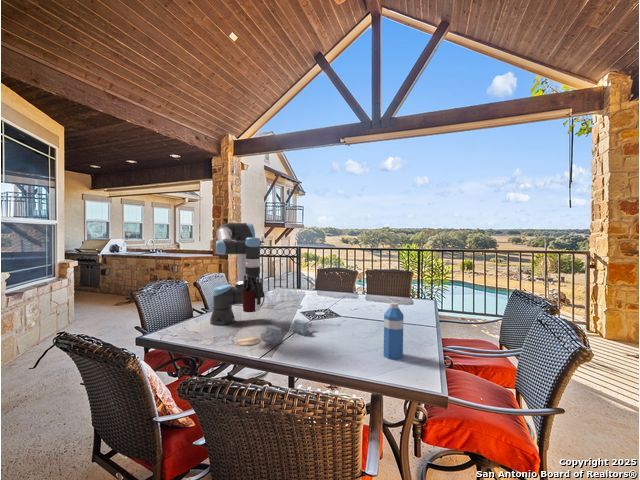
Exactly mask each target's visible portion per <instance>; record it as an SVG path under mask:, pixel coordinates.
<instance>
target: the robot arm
mask: <svg viewBox="0 0 640 480" xmlns="http://www.w3.org/2000/svg"><path fill="white" fill-rule="evenodd" d="M216 229H217V230H216V232H215V233H216V234H215V235H216V236H215V237H216V238H217V241H216V242H215V253H216V255H222V256H223V255H237V282H236V283H235V286H233V285H232V284H223V285H218V286H216V287H214V288H213V292H212V297H213V299H212V313H211V315H210V318H209V323H210V324H211V325H214V326H222V325H223V326H225V325H230V324H233V323H234V322H235V321H236V320H235V318H236V317H235V315H234V312H233V306H236V305H243V303H242V290H243V289H246V292H248V291H249V290H250V289H251V288H253V289H254V291H255V295H256V298H255V311H256V312H259V311H261V307H260V306H261V304H262V299H263V297H264V295H263V292H264V291H263V278H261V277H260V278H259V274H261V267H260V266H261V239H260V238H259V237H256V231H255V226H254V224H252V223H250V222H249V223H247V222H227V223H224V224H222V225H220V226H219V227H218V228H216Z"/></svg>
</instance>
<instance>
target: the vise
mask: <svg viewBox="0 0 640 480" xmlns="http://www.w3.org/2000/svg"><path fill="white" fill-rule="evenodd" d="M293 324H294V325H293V329H292V332H293V333H294V334H298V335H300V336H303V337H307V336H309V335H312V334H313V331H312V330H308V327H313V322H312V321H305V320H302V319H299V318H298V319H294V320H293ZM259 337H260V338H259V339H260V340H262V341H263V342H265V343H267V344H269V345H271V346H277V345H279V344H282V343H283V339H282V328H280V327H277V326H275V325H270V326H268V327H267V333H261V334H259Z"/></svg>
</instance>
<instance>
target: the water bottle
mask: <svg viewBox="0 0 640 480" xmlns="http://www.w3.org/2000/svg"><path fill="white" fill-rule="evenodd" d="M404 316H405V315H404V313H403V312H402V310H401V309H400V307H399V303H398V302H389V307H388V309H387V310H386V311H385V312H384V315H383V357H384V358H386V359H388V360H393V361H398V360H402V359H403V357H404Z"/></svg>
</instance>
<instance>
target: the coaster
mask: <svg viewBox="0 0 640 480" xmlns="http://www.w3.org/2000/svg"><path fill="white" fill-rule="evenodd" d="M260 342H261V338H258V337H256V336H255V337H253V336H249V337H248V336H245V337H242V338H241V337H240V338H239V339H238V340H237V341H236V345H239V346H243V347H247V346H248V347H250V346H256V345H258V344H260Z"/></svg>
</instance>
